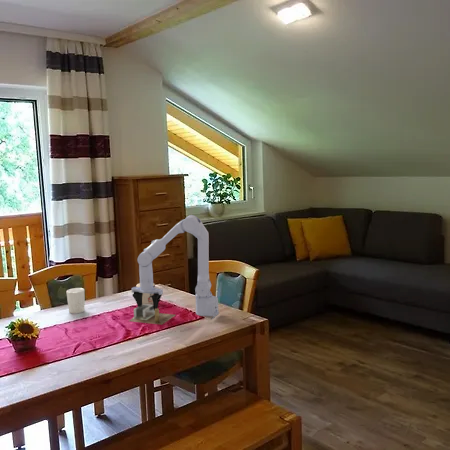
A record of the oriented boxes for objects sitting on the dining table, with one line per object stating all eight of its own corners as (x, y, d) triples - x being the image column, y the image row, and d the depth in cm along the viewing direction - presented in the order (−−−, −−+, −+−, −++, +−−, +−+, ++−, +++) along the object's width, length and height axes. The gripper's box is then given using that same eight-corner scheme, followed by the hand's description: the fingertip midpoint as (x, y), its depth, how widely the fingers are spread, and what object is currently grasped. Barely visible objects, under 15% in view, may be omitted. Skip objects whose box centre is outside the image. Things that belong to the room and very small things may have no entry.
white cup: (88, 308, 230) (86, 287, 229) (81, 314, 223) (80, 292, 221) (72, 308, 231) (70, 287, 230) (65, 314, 223) (63, 292, 222)
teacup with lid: (151, 306, 230) (150, 282, 229) (133, 305, 233) (132, 281, 231) (161, 299, 242) (160, 276, 240) (143, 298, 244) (142, 275, 243)
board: (176, 316, 215) (175, 302, 214) (162, 327, 203) (161, 311, 202) (144, 313, 221) (143, 299, 220) (128, 323, 209) (127, 308, 208)
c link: (143, 312, 219) (143, 303, 218) (154, 313, 217) (154, 304, 216) (134, 318, 211) (133, 309, 211) (145, 319, 209) (145, 310, 209)
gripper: (127, 280, 214) (128, 310, 216) (156, 282, 208) (158, 313, 210) (135, 276, 220) (137, 305, 222) (164, 278, 215) (165, 308, 217)
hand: (147, 309), depth 217 cm, fingers open, 7 cm apart
